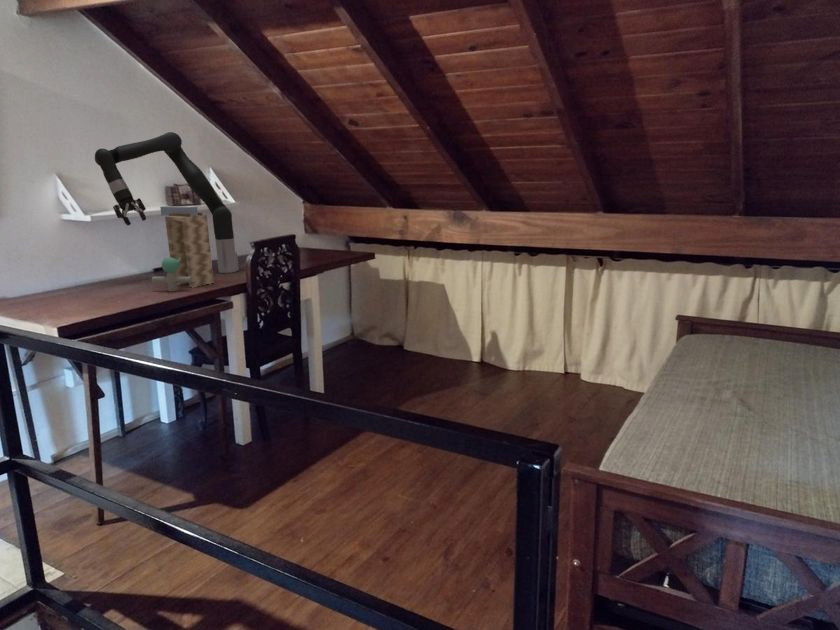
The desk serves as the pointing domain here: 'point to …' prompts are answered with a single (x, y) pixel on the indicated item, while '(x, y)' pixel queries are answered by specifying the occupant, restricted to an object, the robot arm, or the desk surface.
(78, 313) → the desk surface
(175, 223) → the zigzag patterned block
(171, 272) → the toy
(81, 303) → the desk surface
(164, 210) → the bar
